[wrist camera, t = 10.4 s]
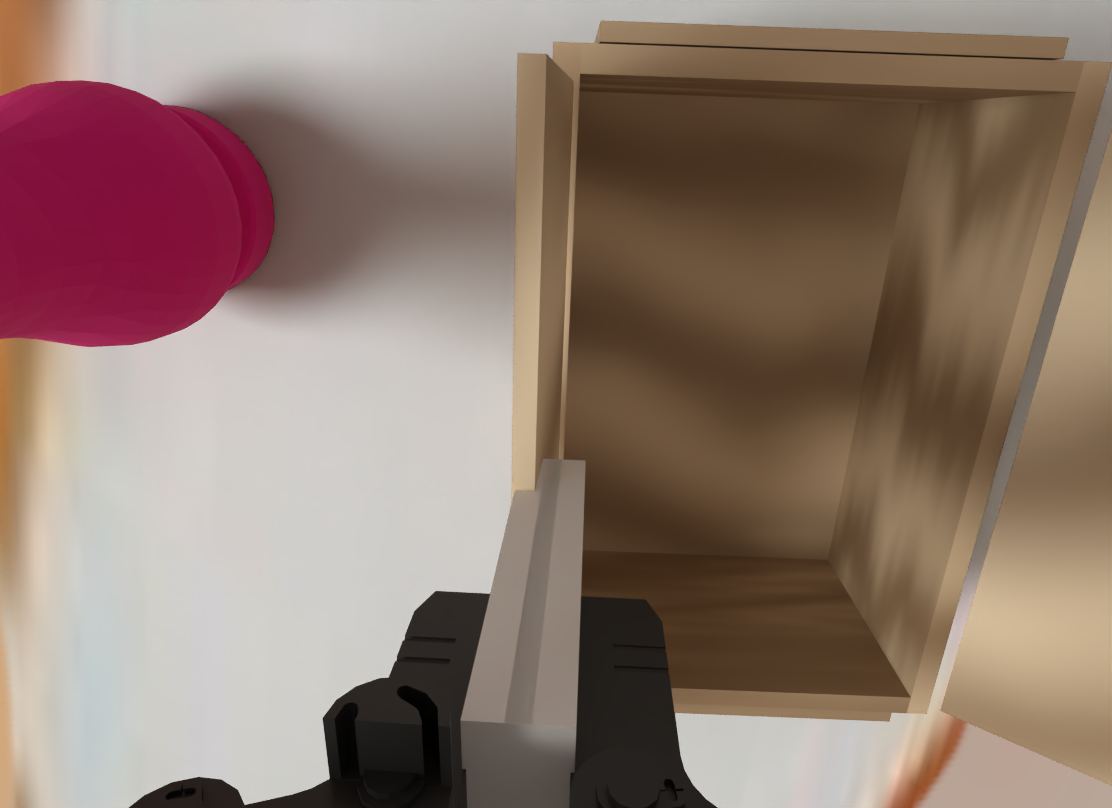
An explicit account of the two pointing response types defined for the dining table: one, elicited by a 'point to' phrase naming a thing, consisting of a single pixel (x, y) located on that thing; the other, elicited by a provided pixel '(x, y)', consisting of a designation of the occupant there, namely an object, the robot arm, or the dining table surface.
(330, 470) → the dining table surface
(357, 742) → the robot arm
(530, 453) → the flap left
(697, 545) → the carton
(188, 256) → the pepper mill
